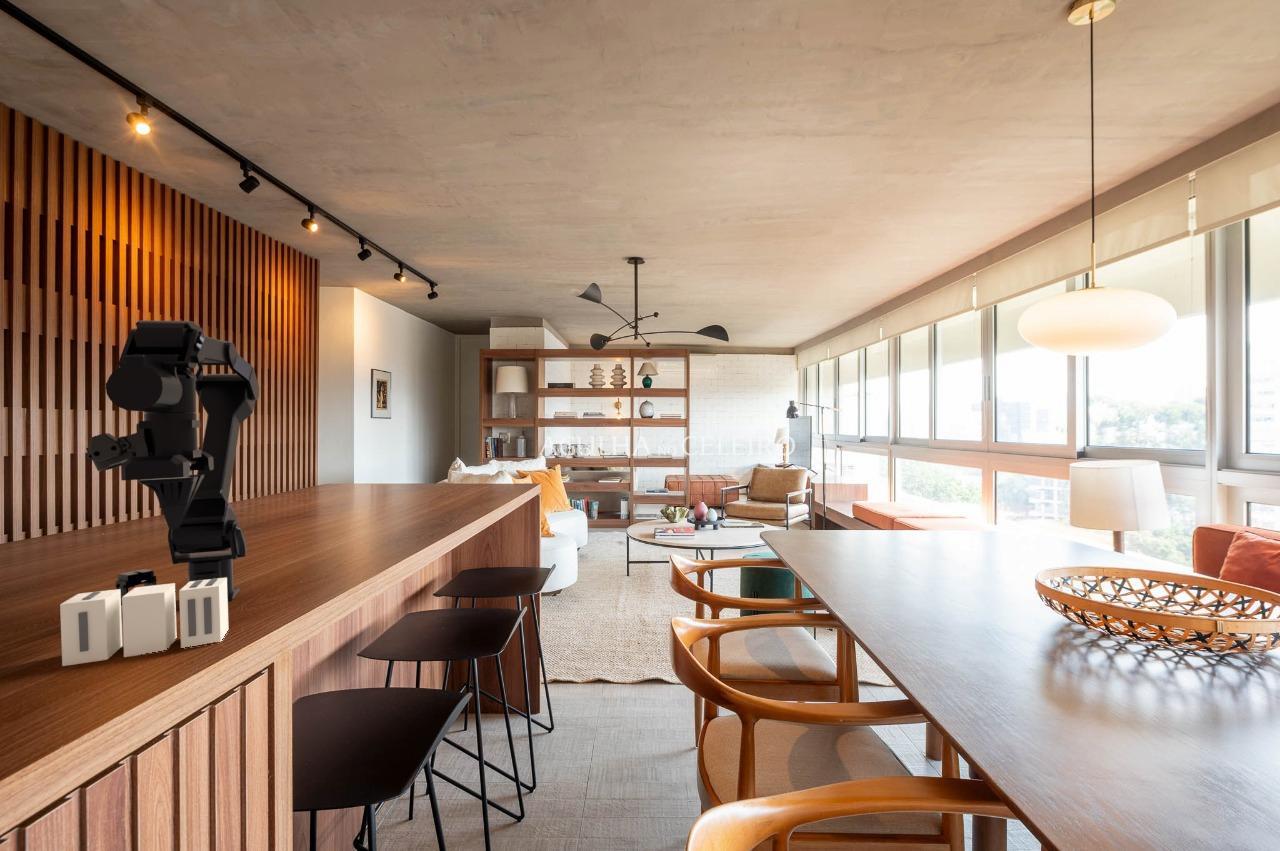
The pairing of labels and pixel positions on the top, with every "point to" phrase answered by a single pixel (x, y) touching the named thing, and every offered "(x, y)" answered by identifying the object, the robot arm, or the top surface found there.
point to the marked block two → (203, 612)
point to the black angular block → (135, 580)
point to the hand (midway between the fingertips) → (174, 528)
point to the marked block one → (91, 627)
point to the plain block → (149, 619)
